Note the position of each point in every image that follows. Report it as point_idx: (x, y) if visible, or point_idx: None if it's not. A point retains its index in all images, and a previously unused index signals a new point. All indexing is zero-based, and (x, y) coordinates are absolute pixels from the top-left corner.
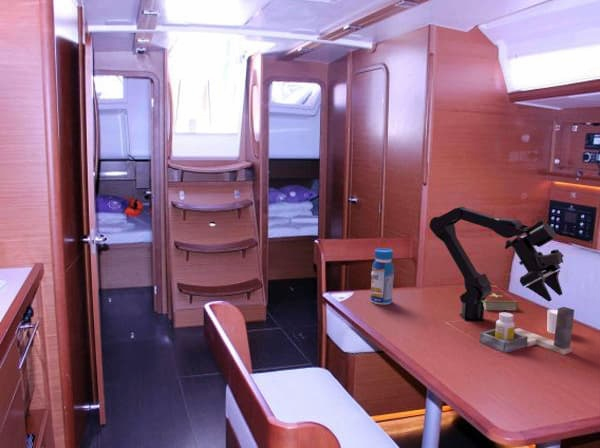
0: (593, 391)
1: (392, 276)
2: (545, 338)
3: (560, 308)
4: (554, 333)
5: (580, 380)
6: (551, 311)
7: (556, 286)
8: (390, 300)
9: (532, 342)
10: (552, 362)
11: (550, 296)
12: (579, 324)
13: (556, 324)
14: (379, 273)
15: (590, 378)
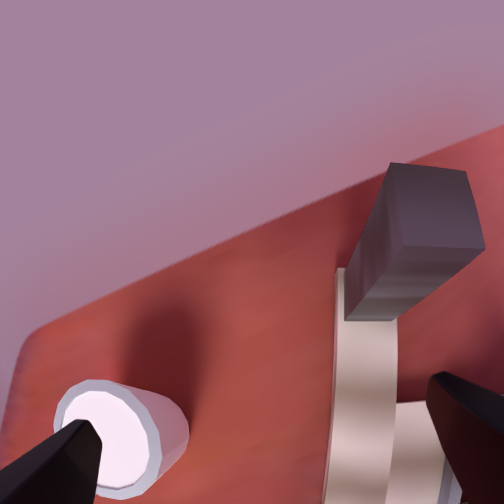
0: (487, 132)
1: None
2: (345, 392)
3: (469, 236)
4: (186, 425)
5: (480, 165)
6: (123, 476)
7: (49, 501)
8: None
9: (420, 401)
10: (470, 264)
11: (454, 390)
12: (15, 389)
13: (431, 290)
14: None
15: (449, 154)
